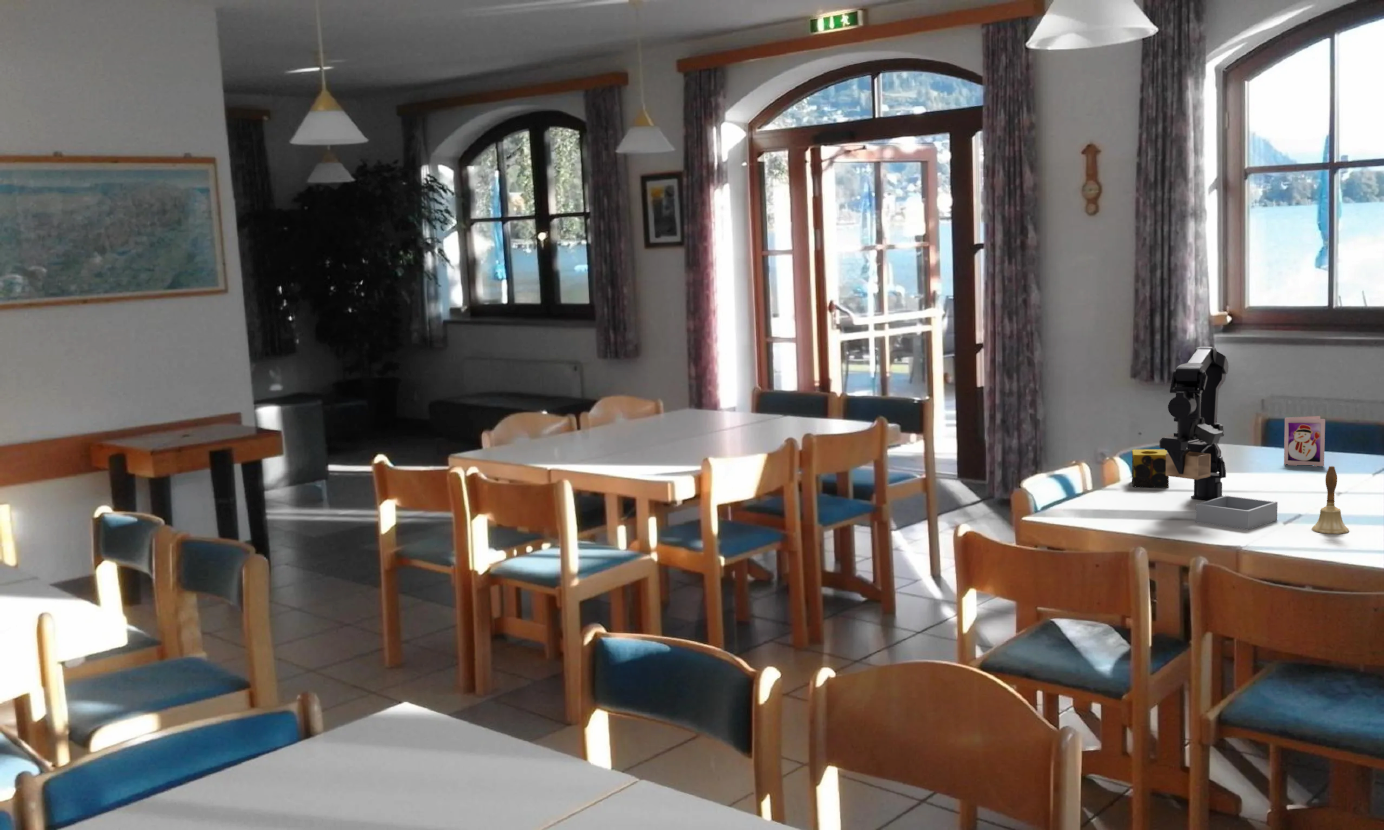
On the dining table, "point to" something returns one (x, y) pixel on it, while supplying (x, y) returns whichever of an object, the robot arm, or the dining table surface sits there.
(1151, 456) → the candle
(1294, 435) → the greeting card
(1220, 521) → the grey crate
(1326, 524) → the hand bell
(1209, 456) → the walnut crate
